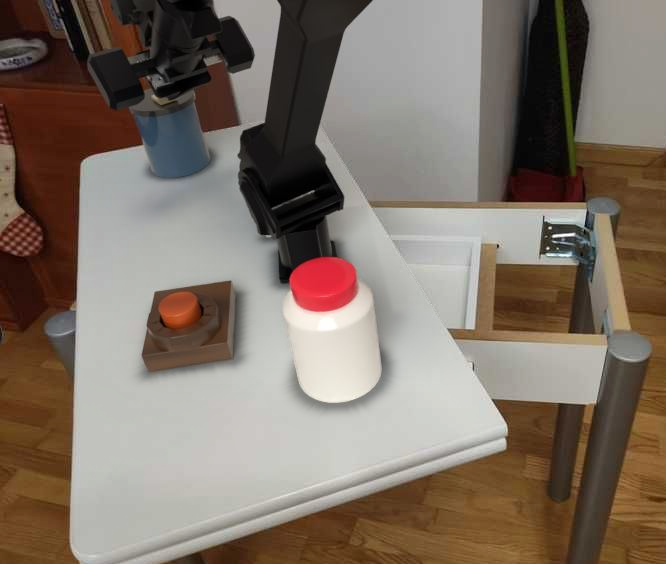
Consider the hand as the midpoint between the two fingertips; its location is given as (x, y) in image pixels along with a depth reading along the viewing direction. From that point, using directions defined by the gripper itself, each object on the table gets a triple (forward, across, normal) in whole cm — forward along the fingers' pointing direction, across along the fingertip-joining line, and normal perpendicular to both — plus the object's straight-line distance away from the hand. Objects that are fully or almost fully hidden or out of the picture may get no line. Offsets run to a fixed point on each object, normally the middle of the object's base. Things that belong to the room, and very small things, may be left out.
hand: (169, 96), depth 86 cm
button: (-19, +16, +29) cm, 38 cm away
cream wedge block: (+2, 0, -1) cm, 3 cm away
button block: (-15, +15, +31) cm, 37 cm away
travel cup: (+10, 0, +5) cm, 12 cm away
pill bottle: (-26, +7, +41) cm, 49 cm away
